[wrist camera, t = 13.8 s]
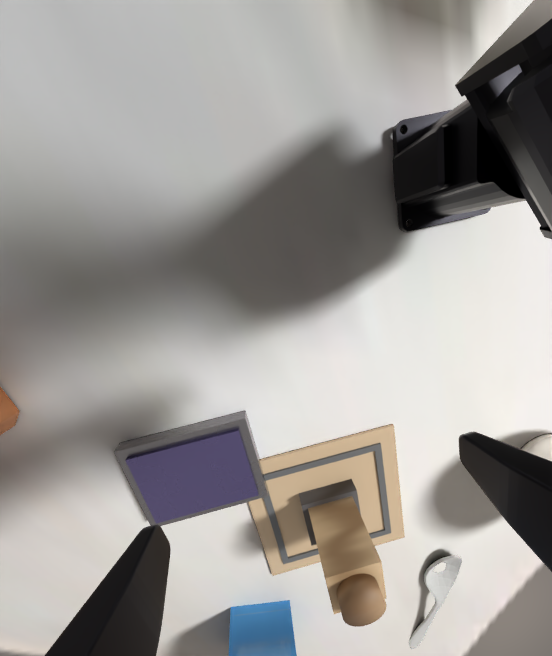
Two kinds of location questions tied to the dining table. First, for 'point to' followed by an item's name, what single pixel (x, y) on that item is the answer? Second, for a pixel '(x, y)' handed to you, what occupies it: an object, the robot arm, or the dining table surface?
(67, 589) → the dining table surface
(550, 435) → the lidded jar
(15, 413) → the whiskey bottle
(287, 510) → the print sheet
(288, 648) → the perfume bottle
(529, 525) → the robot arm
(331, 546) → the stamp
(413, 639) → the spoon
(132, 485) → the ink pad
